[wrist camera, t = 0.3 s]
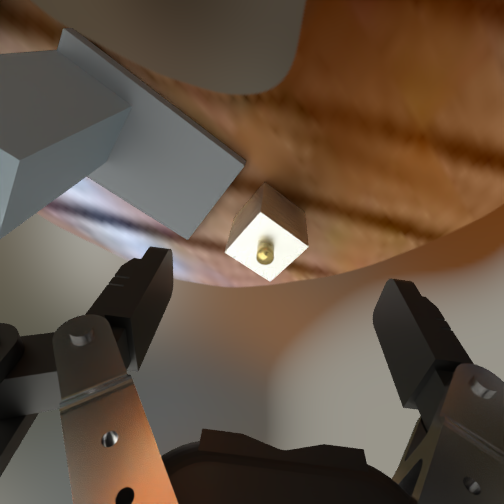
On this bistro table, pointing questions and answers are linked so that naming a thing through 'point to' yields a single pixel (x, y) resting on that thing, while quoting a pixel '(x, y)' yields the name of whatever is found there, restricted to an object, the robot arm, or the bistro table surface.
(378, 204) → the bistro table surface
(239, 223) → the block
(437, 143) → the bistro table surface
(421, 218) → the bistro table surface
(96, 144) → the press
